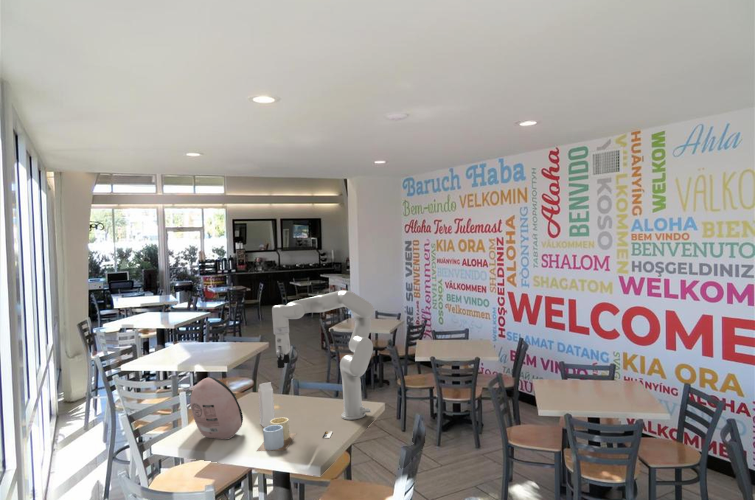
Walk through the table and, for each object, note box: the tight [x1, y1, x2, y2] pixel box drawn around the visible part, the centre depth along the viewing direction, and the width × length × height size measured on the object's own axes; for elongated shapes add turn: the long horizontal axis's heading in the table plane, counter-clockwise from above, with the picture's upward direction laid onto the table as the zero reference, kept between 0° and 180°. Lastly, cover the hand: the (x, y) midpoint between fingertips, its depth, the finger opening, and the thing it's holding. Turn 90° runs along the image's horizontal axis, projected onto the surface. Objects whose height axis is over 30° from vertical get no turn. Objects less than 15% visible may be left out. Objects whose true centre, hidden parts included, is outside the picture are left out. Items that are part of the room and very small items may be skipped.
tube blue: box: [262, 425, 284, 450], centre depth 226 cm, size 8×8×8 cm
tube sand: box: [270, 416, 291, 440], centre depth 236 cm, size 8×8×8 cm
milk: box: [257, 381, 276, 428], centre depth 256 cm, size 6×6×22 cm
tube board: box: [256, 430, 333, 452], centre depth 233 cm, size 30×24×1 cm
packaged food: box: [189, 376, 244, 440], centre depth 244 cm, size 22×20×30 cm
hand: (283, 365), depth 249 cm, fingers open, 9 cm apart
